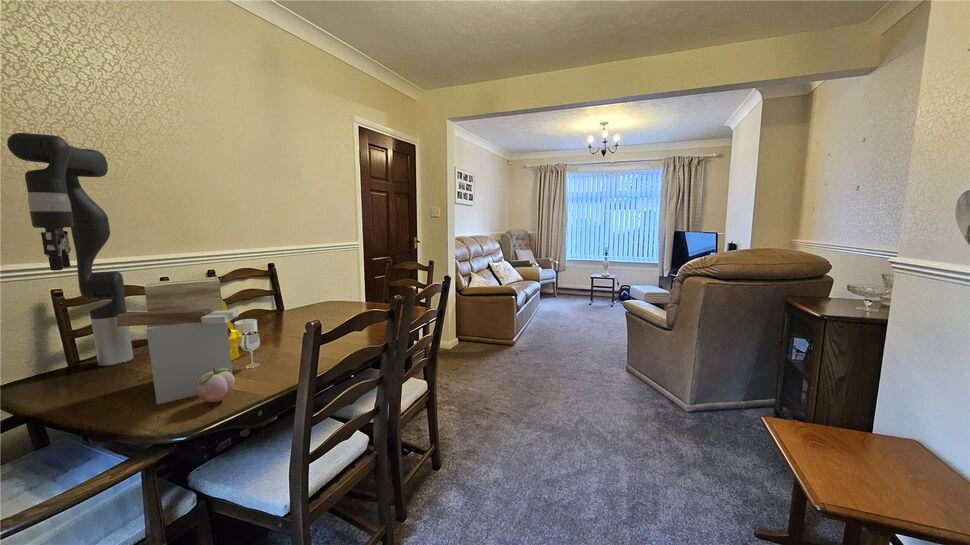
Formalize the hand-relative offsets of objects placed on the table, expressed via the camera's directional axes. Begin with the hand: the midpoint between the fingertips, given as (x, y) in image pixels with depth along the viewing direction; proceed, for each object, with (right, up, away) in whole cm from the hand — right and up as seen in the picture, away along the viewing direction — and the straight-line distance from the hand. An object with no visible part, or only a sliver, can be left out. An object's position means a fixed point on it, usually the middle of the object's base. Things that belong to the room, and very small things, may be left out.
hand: (61, 268), depth 103 cm
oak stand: (+23, -36, +19) cm, 46 cm away
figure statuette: (+23, -34, +34) cm, 53 cm away
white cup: (+20, -31, +50) cm, 62 cm away
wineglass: (+36, -35, +27) cm, 57 cm away
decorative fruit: (+42, -38, +2) cm, 57 cm away
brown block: (+30, -15, +3) cm, 34 cm away
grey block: (+31, -37, +9) cm, 49 cm away
